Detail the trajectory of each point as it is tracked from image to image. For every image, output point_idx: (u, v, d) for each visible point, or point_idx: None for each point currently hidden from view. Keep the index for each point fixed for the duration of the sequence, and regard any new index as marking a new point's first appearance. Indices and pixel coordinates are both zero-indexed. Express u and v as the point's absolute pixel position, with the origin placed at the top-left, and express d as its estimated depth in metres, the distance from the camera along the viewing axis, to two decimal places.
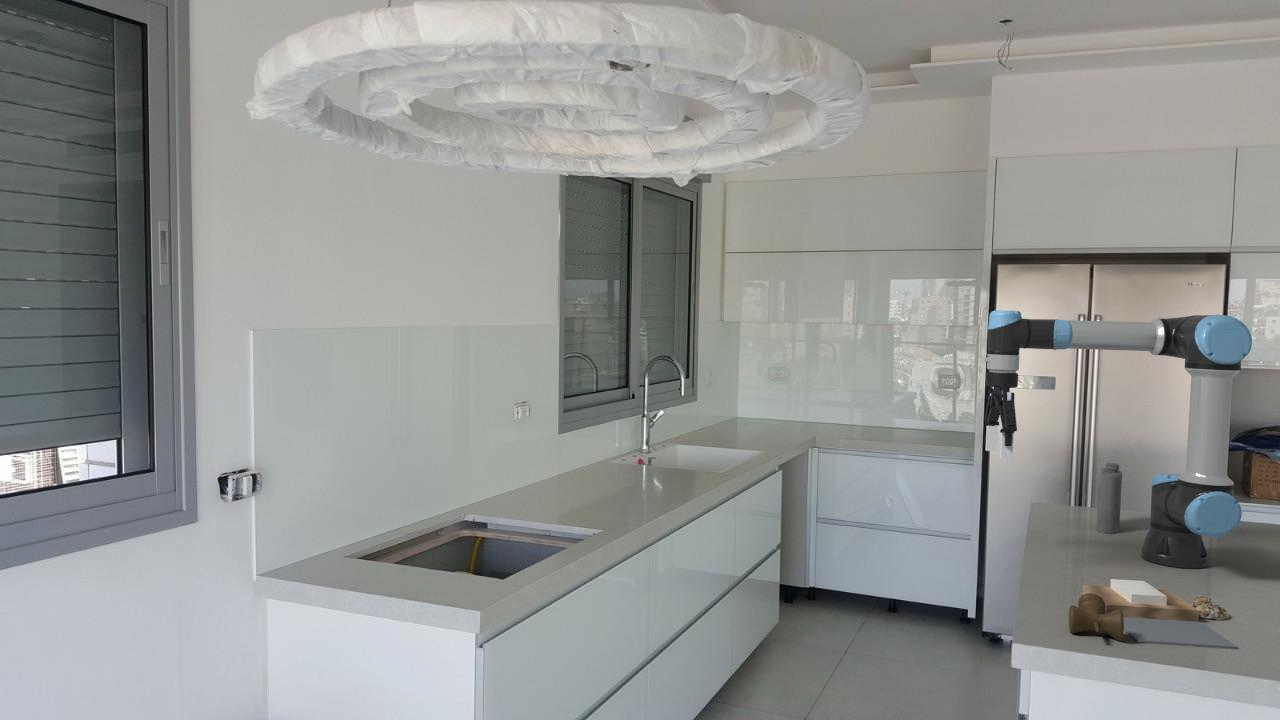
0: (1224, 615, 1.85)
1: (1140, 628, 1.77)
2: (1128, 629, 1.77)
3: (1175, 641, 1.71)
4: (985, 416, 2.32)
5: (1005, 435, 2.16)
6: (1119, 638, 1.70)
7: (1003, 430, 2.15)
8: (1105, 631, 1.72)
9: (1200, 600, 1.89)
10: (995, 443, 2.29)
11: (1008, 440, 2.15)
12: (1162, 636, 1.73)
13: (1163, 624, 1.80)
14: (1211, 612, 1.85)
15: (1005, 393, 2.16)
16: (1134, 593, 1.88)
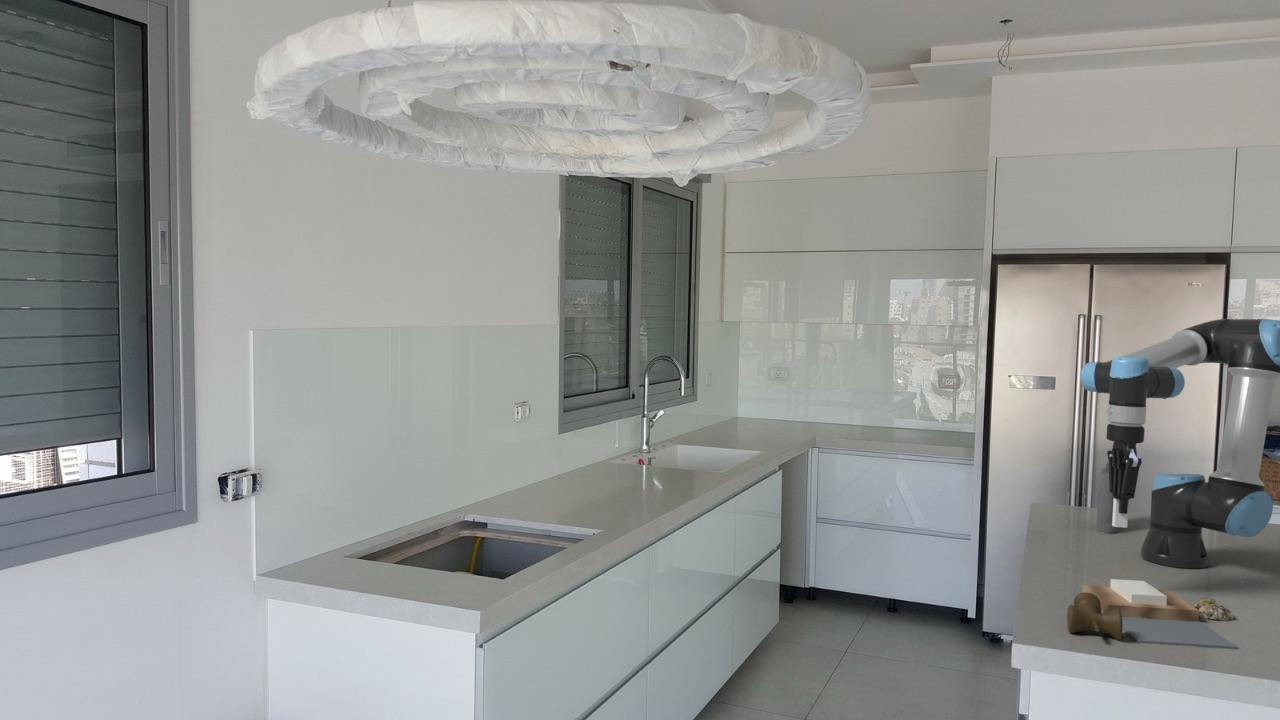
0: (1228, 616, 1.85)
1: (1140, 628, 1.77)
2: (1128, 629, 1.77)
3: (1175, 641, 1.71)
4: (1110, 485, 2.05)
5: (1119, 501, 2.00)
6: (1118, 637, 1.71)
7: (1118, 498, 2.00)
8: (1104, 630, 1.73)
9: (1204, 601, 1.89)
10: None
11: (1123, 507, 1.99)
12: (1162, 636, 1.73)
13: (1163, 624, 1.80)
14: (1215, 613, 1.85)
15: (1131, 461, 1.95)
16: (1134, 593, 1.88)
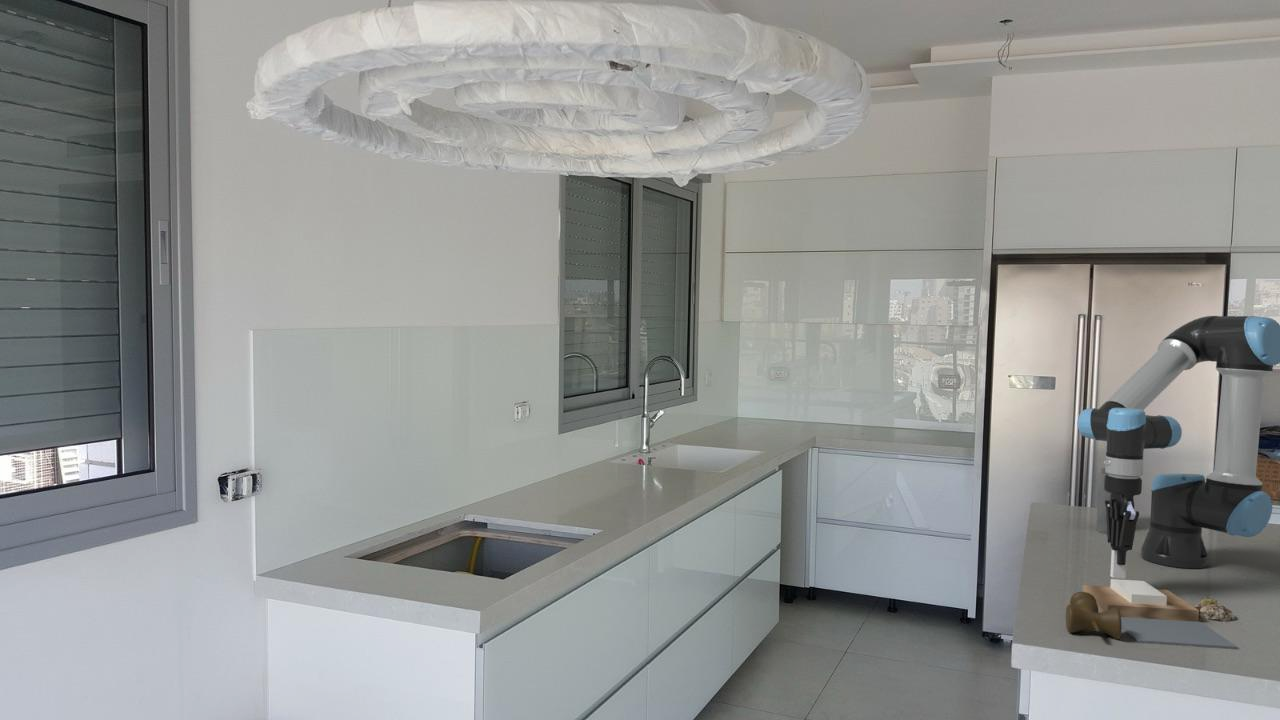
0: (1229, 616, 1.85)
1: (1140, 628, 1.77)
2: (1128, 629, 1.77)
3: (1175, 641, 1.71)
4: (1108, 536, 2.05)
5: (1117, 552, 2.01)
6: (1117, 636, 1.71)
7: (1116, 549, 2.00)
8: (1103, 629, 1.73)
9: (1205, 601, 1.88)
10: None
11: (1121, 559, 2.00)
12: (1162, 636, 1.73)
13: (1163, 624, 1.80)
14: (1216, 613, 1.85)
15: (1129, 514, 1.95)
16: (1134, 593, 1.88)
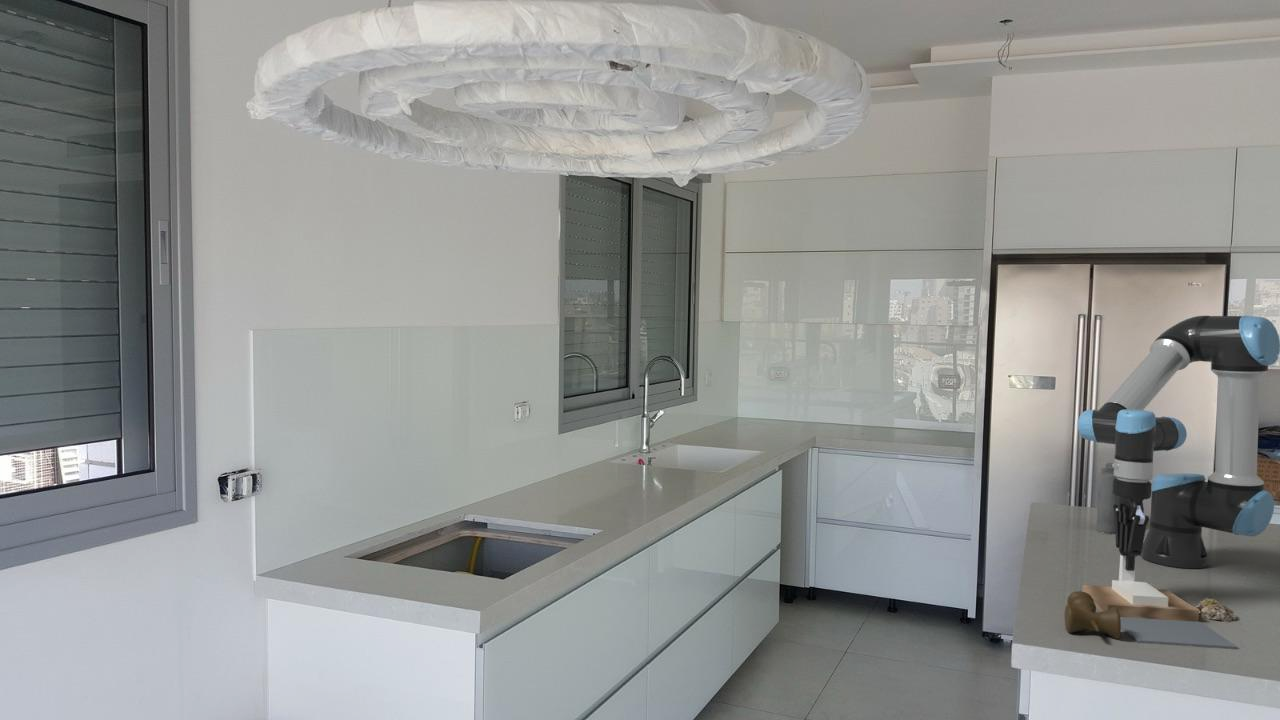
0: (1230, 616, 1.85)
1: (1140, 628, 1.77)
2: (1128, 629, 1.77)
3: (1175, 641, 1.71)
4: (1116, 540, 2.00)
5: (1126, 558, 1.96)
6: (1116, 636, 1.71)
7: (1124, 555, 1.95)
8: (1102, 629, 1.73)
9: (1207, 601, 1.88)
10: None
11: (1130, 564, 1.95)
12: (1162, 636, 1.73)
13: (1163, 624, 1.80)
14: (1218, 613, 1.84)
15: (1138, 518, 1.90)
16: (1135, 594, 1.87)
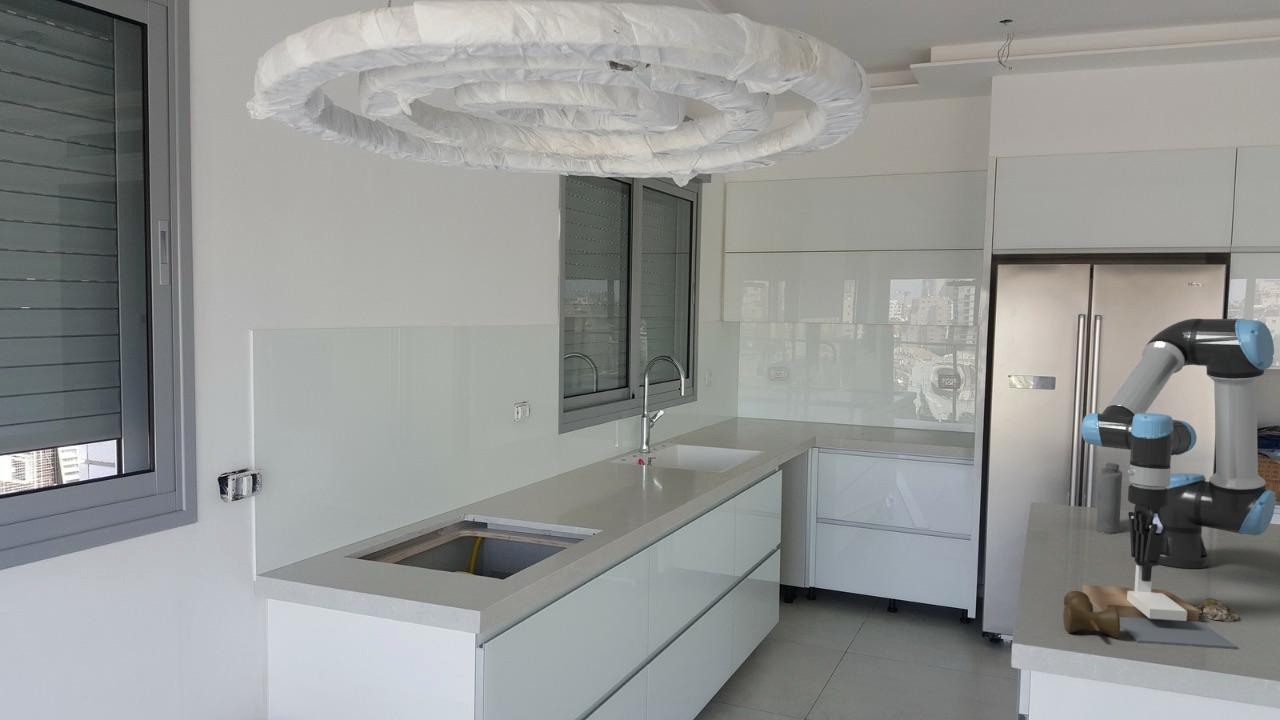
0: (1232, 617, 1.85)
1: (1140, 628, 1.77)
2: (1128, 629, 1.77)
3: (1175, 641, 1.71)
4: (1132, 550, 1.92)
5: (1142, 568, 1.88)
6: (1115, 635, 1.72)
7: (1141, 565, 1.87)
8: (1101, 628, 1.73)
9: (1208, 601, 1.88)
10: None
11: (1147, 575, 1.87)
12: (1162, 636, 1.73)
13: (1163, 624, 1.80)
14: (1219, 613, 1.84)
15: (1155, 527, 1.82)
16: (1152, 607, 1.79)
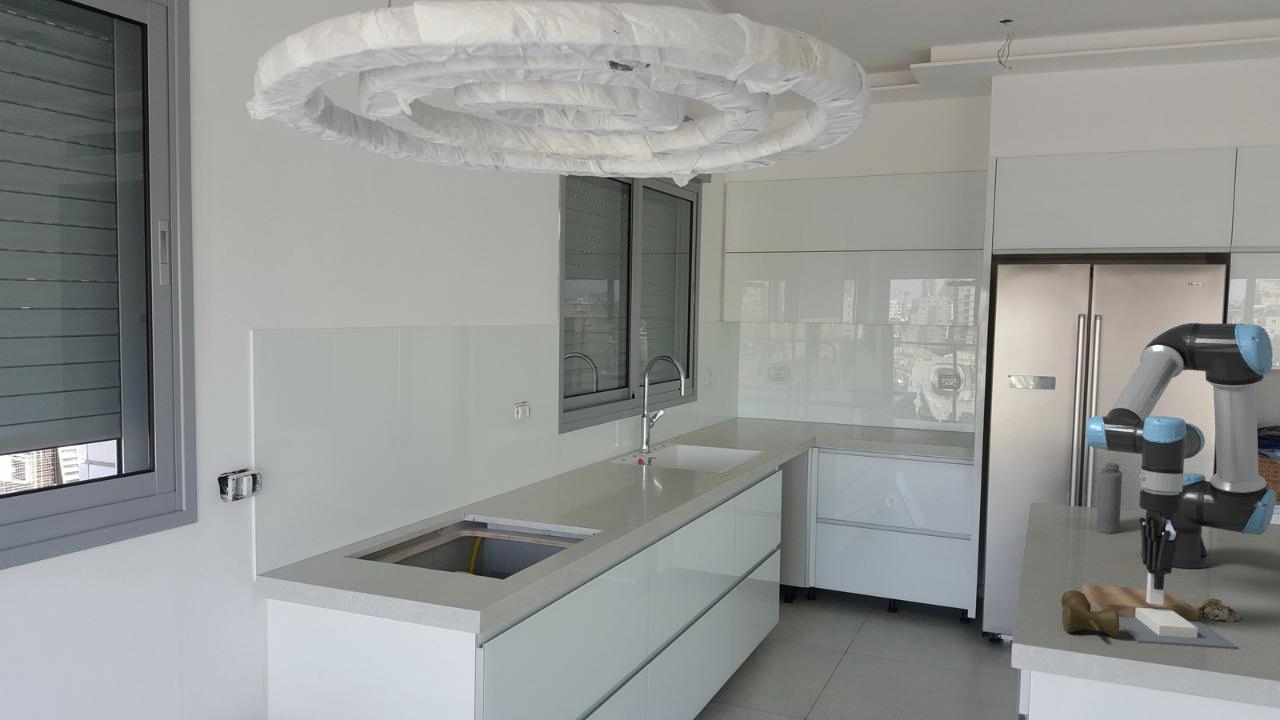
0: (1233, 617, 1.84)
1: (1140, 628, 1.77)
2: (1128, 629, 1.77)
3: (1175, 641, 1.71)
4: (1143, 557, 1.87)
5: (1155, 576, 1.82)
6: (1115, 635, 1.72)
7: (1153, 572, 1.82)
8: (1101, 628, 1.73)
9: (1210, 601, 1.88)
10: None
11: (1159, 583, 1.81)
12: (1162, 636, 1.73)
13: None
14: (1221, 614, 1.84)
15: (1168, 534, 1.77)
16: (1162, 624, 1.74)
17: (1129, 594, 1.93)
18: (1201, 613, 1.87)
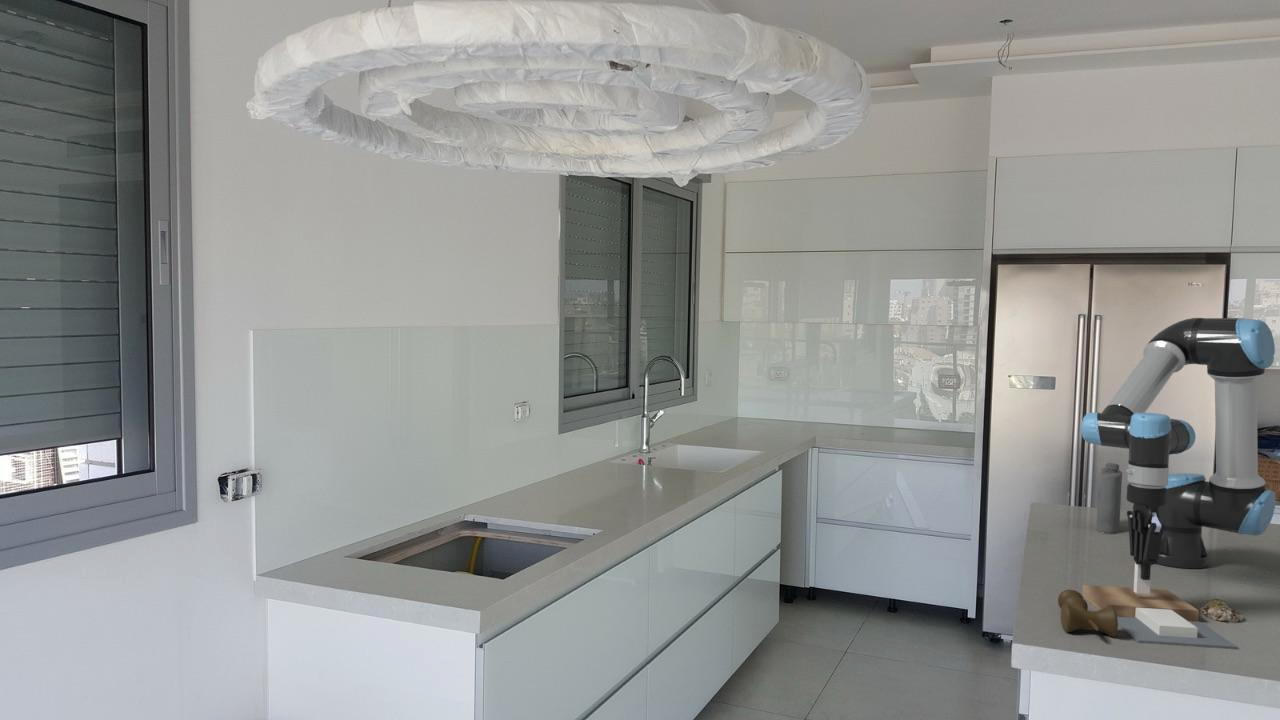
0: (1237, 617, 1.84)
1: (1140, 628, 1.77)
2: (1128, 629, 1.77)
3: (1175, 641, 1.71)
4: (1130, 548, 1.93)
5: (1141, 566, 1.89)
6: (1113, 634, 1.72)
7: (1140, 563, 1.88)
8: (1099, 628, 1.74)
9: (1213, 602, 1.88)
10: None
11: (1146, 573, 1.88)
12: (1162, 636, 1.73)
13: None
14: (1224, 614, 1.84)
15: (1154, 526, 1.83)
16: (1162, 624, 1.74)
17: (1129, 594, 1.93)
18: (1204, 614, 1.87)
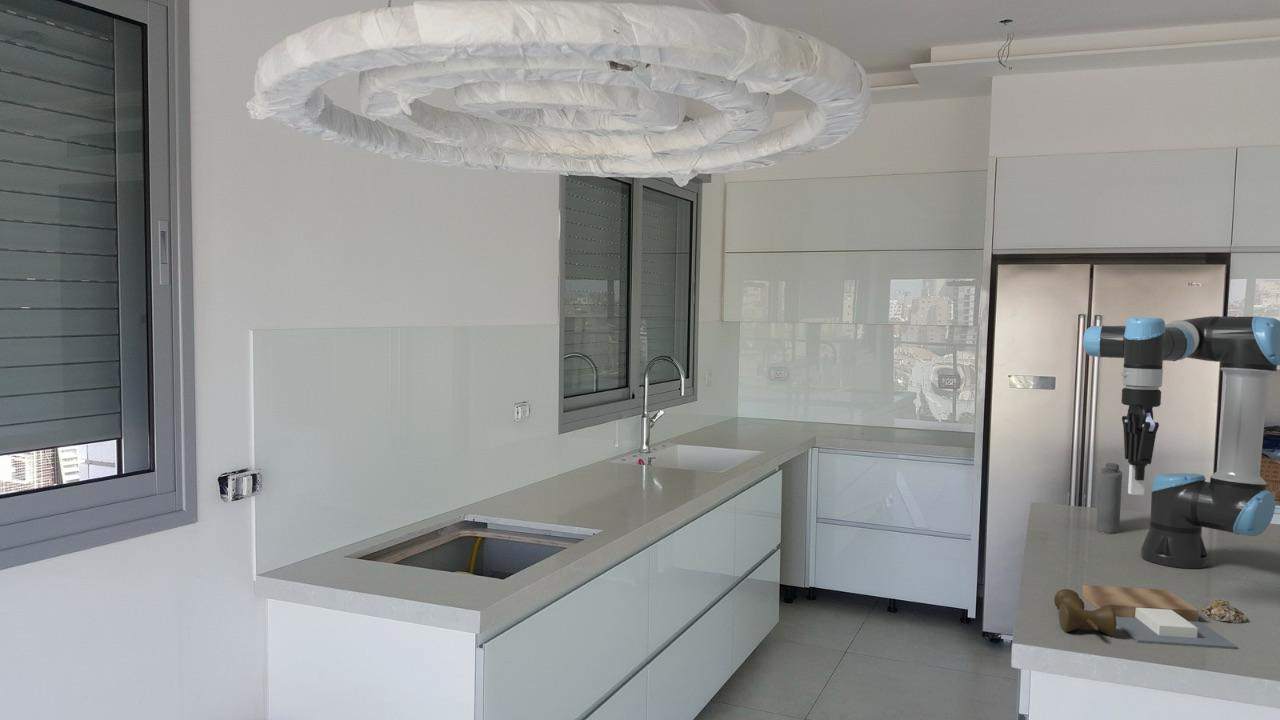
0: (1240, 618, 1.84)
1: (1140, 628, 1.77)
2: (1128, 629, 1.77)
3: (1175, 641, 1.71)
4: (1125, 452, 1.97)
5: (1136, 467, 1.93)
6: (1112, 633, 1.73)
7: (1134, 464, 1.92)
8: (1098, 627, 1.74)
9: (1217, 603, 1.87)
10: None
11: (1140, 474, 1.92)
12: (1162, 636, 1.73)
13: None
14: (1227, 615, 1.84)
15: (1148, 425, 1.87)
16: (1162, 624, 1.74)
17: (1129, 594, 1.93)
18: (1208, 614, 1.87)
